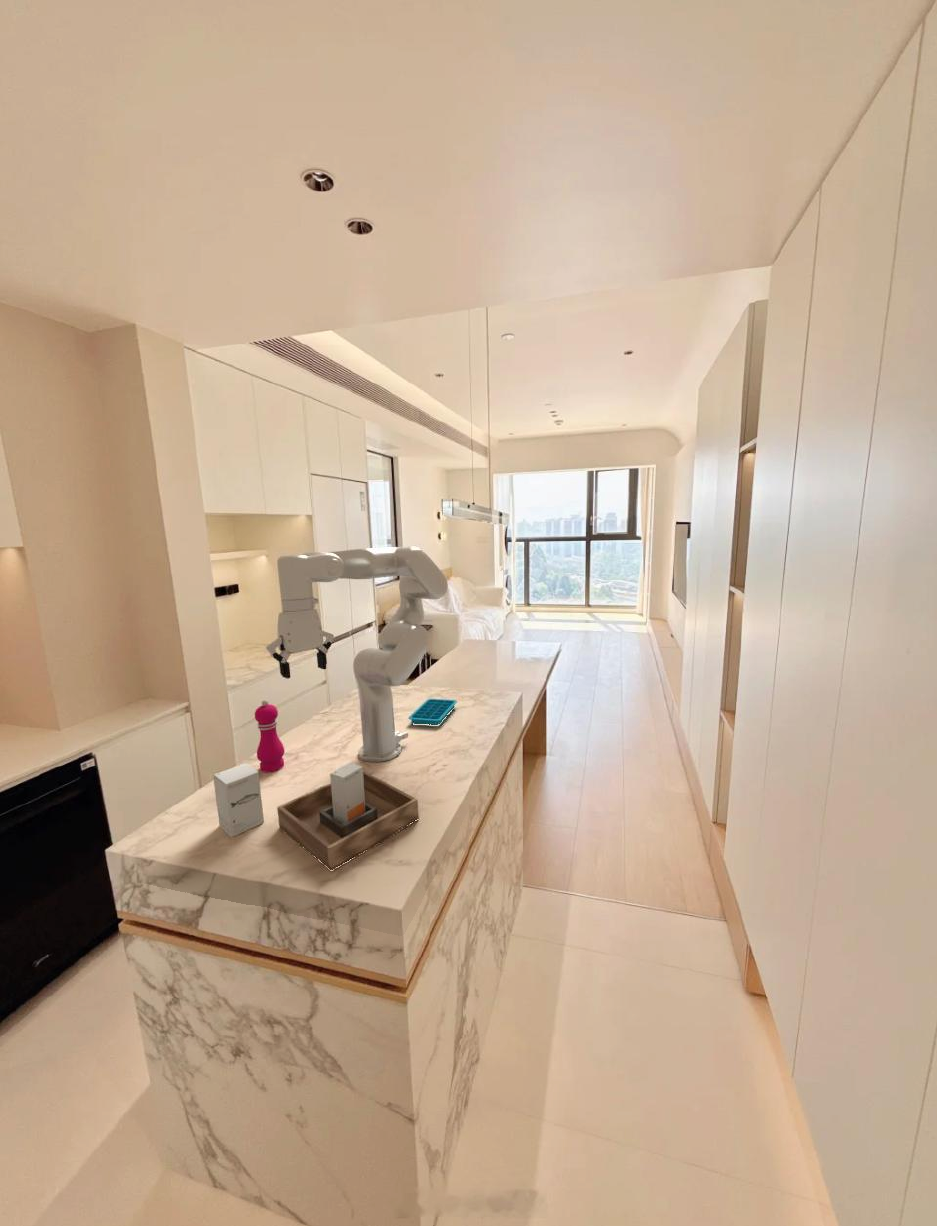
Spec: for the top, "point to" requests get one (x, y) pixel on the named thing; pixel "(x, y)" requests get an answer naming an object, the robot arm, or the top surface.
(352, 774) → the skincare box
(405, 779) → the top surface
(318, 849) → the walled box
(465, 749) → the top surface
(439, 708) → the ice cube tray
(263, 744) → the pepper mill
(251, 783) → the supplement box
